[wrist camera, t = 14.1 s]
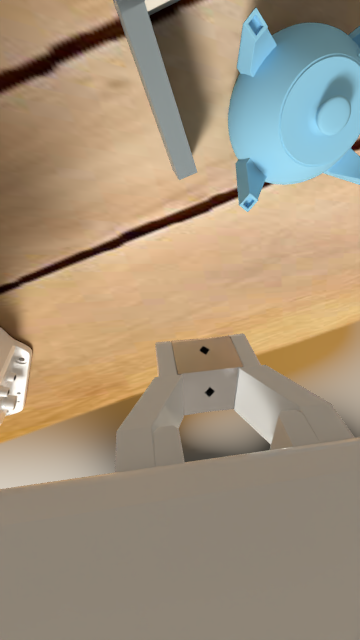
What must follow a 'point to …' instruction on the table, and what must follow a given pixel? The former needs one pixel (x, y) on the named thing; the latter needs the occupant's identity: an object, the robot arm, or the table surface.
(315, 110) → the teapot
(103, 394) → the table surface
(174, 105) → the bracket
